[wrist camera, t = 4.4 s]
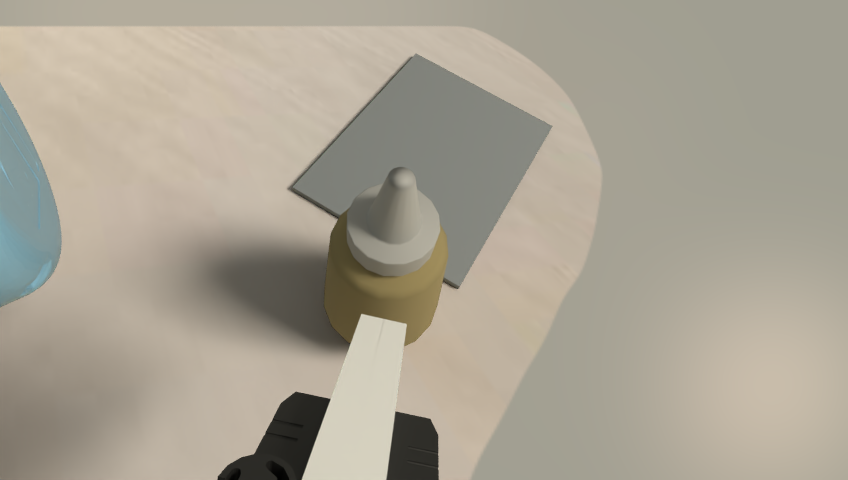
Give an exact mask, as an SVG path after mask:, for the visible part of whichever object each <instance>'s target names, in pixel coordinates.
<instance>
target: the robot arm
mask: <svg viewBox="0 0 848 480" xmlns="http://www.w3.org/2000/svg"><path fill="white" fill-rule="evenodd" d="M60 254H61V227H60V220H59V215H58V210H57V206H56V203H55V199H54V196H53V193H52V190H51V186H50V184H49V181H48V178H47V175H46V173H45V170H44V168H43V165H42V163H41V160H40V158H39V156H38V153H37V151H36V149H35V147H34V144H33V142H32V140H31V138H30V136H29V134H28V132H27V130H26V128H25V126H24V124H23V122H22V120H21V118H20V116H19V115H18V113H17V111H16V109H15V107H14V106H13V104H12V102H11V100H10V99H9V97H8V95H7V94H6V92H5V90H4V88H3V87H2V85H1V84H0V307H1V306H4V305H6V304H8V303H11V302H13V301H15V300H18V299H20V298H22V297H24V296H26V295H28V294H30V293H32V292H33V291H35V290H36V289H38V288H39V287H41V286H42V285H43V284H44V283H45V282H46V281H47V280H48V279H49V278H50V276H51V275H52V274H53V272H54V270H55V268H56V266H57V264H58V261H59V258H60ZM406 327H407V324H405V323H400V322H396V321H391V320H387V319H382V318H378V317H373V316H368V315H364V314H361V317H360V319H359V322H358V325H357V328H356V330H355V333H354V336H353V339H352V341H351V344H350V347H349V350H348V353H347V355H346V358H345V361H344V364H343V366H342V369H341V372H340V375H339V378H338V380H337V383H336V386H335V389H334V391H333V394H332V397H331V399H328V398H323V397H318V396H313V395H309V394H304V393H299V392H295V393H294V394H292V395H291V396H290V397H289V398H287V399H286V400H285V401H283V402H282V403H281V404H280V406H279V408H278V410H277V412H276V414H275V416H274V418H273V420H272V422H271V423H270V425H269V427H268V429H267V431H266V434H265V435H264V437H263V439H262V440H261V442H260V444H259V446H258V448H257V450H256V452H255V454H253V455H249V456H245V457H241V458H239V459H238V460H236V461H234V462H233V463H231V464H229V465H228V466H227V467H226V468H225V469H224V470H223V471H222V473H221V474H220V475H219V476H218V480H439V476H438V434H437V432H436V430H435V428H434V426H433V424H432V422H431V419H428V418H423V417H419V416H414V415H409V414H405V413H400V412H395V410H396V402H397V395H398V387H399V380H400V372H401V365H402V357H403V349H404V342H405V334H406Z"/></svg>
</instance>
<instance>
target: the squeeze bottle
mask: <svg viewBox="0 0 848 480" xmlns="http://www.w3.org/2000/svg"><path fill="white" fill-rule="evenodd" d="M447 260H448V245H447V235H446V233H445V232H444V230H443V228H442V226H441V224H440V220H439V214H438V212H437V211H436V209H435V207H434V205H433V203H432V201H431V200H430V199H428V198H427V197H426V196H425V195H424V194H423V193H421V192H420V191H419V190H417V186H416V179H415V175H414V174H413V172H412V171H411V170H409V169H407V168H405V167H397V168H393V169H392V170H391V171H390V172H389V174H388V176H387V178H386V179H385V181H384V183H383V184H379V185H376V186H373V187H370V188H367V189H366V190H365V191H363V192H362V193H361V194H360V195H358V196H357V197H356V198H355V199H354V201H353V203H352V204H351V206H350V208H349V209H347V210H346V211H345V212H344V213H342V214H341V215H340V217H339V219H338V221H337V223H336V225H335V226H334V228H333V230H332V232H331V236H330V245H329V253H328V262H327V270H326V279H325V292H324V307H325V310H326V313H327V315H328V318H329V320H330V323H331V325H332V327H333V328H334V329H335V330H336V331H337V332H338V333H339V334H340V335H341V336H342V337H343V338H344V339H345V340H346V341H347V342H348V343H351V341H352V339H353V336H354V333H355V330H356V328H357V325H358V322H359V319H360V317H361V314H364V315H368V316H373V317H378V318H382V319H387V320H391V321H396V322H400V323H405V324H407V327H406V334H405V342H404V346H406V345H408V344H410V343H413V342H415V341H416V340H417V339H418V338H419V337H420V336H421V334H422V333H423V332H424V331H425V330H426V329H427V328H428V327H429V326H430V324H431V322H432V319H433V316H434V313H435V310H436V307H437V304H438V300H439V296H440V291H441V287H442V282H443V278H444V274H445V269H446V265H447Z"/></svg>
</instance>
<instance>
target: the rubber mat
mask: <svg viewBox="0 0 848 480" xmlns="http://www.w3.org/2000/svg"><path fill="white" fill-rule="evenodd" d="M551 128H552V126H551V125H549V124H547V123H546V122H544V121H542V120H540V119H538V118H536V117H534V116H532V115H530V114H529V113H527V112H525V111H523V110H521V109H519V108H517V107H515V106H514V105H512V104H510V103H508V102H506V101H504V100H502V99H500V98H499V97H497V96H495V95H493V94H491V93H489V92H487V91H485V90H484V89H482V88H480V87H478V86H476V85H474V84H472V83H470V82H469V81H467V80H465V79H463V78H461V77H459V76H457V75H455V74H454V73H452V72H450V71H448V70H446V69H444V68H442V67H440V66H438V65H437V64H435V63H433V62H431V61H429V60H427V59H425V58H423V57H422V56H420V55H418V54H415V55H414V56H413V57H412V59H411V60H410V61H409V62H408V63H407V64H406V65H405V66H404V67H403V68H402V69H401V70H400V72H399V73H398V74H397V75H396V76H395V77H394V78H393V79H392V80H391V81H390V82H389V83H388V84H387V86H386V87H385V88H384V89H383V90H382V91H381V92H380V93H379V94H378V95H377V96H376V97H375V99H374V100H373V101H372V102H371V103H370V104H369V105H368V106H367V107H366V108H365V109H364V110H363V111H362V113H361V114H360V115H359V116H358V117H357V118H356V119H355V120H354V121H353V122H352V123H351V124H350V125H349V127H348V128H347V129H346V130H345V131H344V132H343V133H342V134H341V135H340V136H339V137H338V138H337V140H336V141H335V142H334V143H333V144H332V145H331V146H330V147H329V148H328V149H327V150H326V151H325V152H324V154H323V155H322V156H321V157H320V158H319V159H318V160H317V161H316V162H315V163H314V164H313V165H312V167H311V168H310V169H309V170H308V171H307V172H306V173H305V174H304V175H303V176H302V177H301V178H300V179H299V181H298V182H297V183H296V184H295V185H294V186H293V191H294V192H296V193H298V194H299V195H301V196H303V197H304V198H306V199H308V200H309V201H311V202H313V203H314V204H316V205H318V206H320V207H321V208H323V209H325V210H326V211H328V212H330V213H331V214H333V215H335V216H336V217H338V218H339V217H340V215H341V214H342V213H344V212H345V211H346V210H347V209H349V208H350V206H351V204H352V203H353V201H354V199H355V198H356V197H357V196H358V195H360V194H361V193H362V192H363V191H365V190H366V189H367V188H370V187H373V186H376V185H379V184H383V183H384V181H385V179H386V178H387V176H388V174H389V172H390V171H391V170H392V169H393V168H397V167H405V168H407V169H409V170H411V171H412V172H413V174H414V175H415V179H416V186H417V190H419V191H420V192H421V193H423V194H424V195H425V196H426V197H427V198H428V199H430V200H431V201H432V203H433V205H434V207H435V209H436V211H437V212H438V214H439V220H440V224H441V226H442V228H443V230H444V232H445V233H446V235H447V245H448V260H447V265H446V269H445V274H444V278H443V281H445V282H447V283H449V284H450V285H452V286H454V287H455V288H457V289H458V288H459V287H460V285H461V283H462V282H463V280H464V278H465V276H466V275H467V273H468V271H469V270H470V268H471V266H472V264H473V263H474V261H475V259H476V257H477V256H478V254H479V252H480V251H481V249H482V247H483V245H484V244H485V242H486V240H487V238H488V237H489V235H490V233H491V232H492V230H493V228H494V226H495V225H496V223H497V221H498V219H499V218H500V216H501V214H502V213H503V211H504V209H505V207H506V206H507V204H508V202H509V200H510V199H511V197H512V195H513V194H514V192H515V190H516V188H517V187H518V185H519V183H520V181H521V180H522V178H523V176H524V175H525V173H526V171H527V169H528V168H529V166H530V164H531V162H532V161H533V159H534V157H535V156H536V154H537V152H538V150H539V149H540V147H541V145H542V143H543V142H544V140H545V138H546V137H547V135H548V133H549V131H550V130H551Z"/></svg>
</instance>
